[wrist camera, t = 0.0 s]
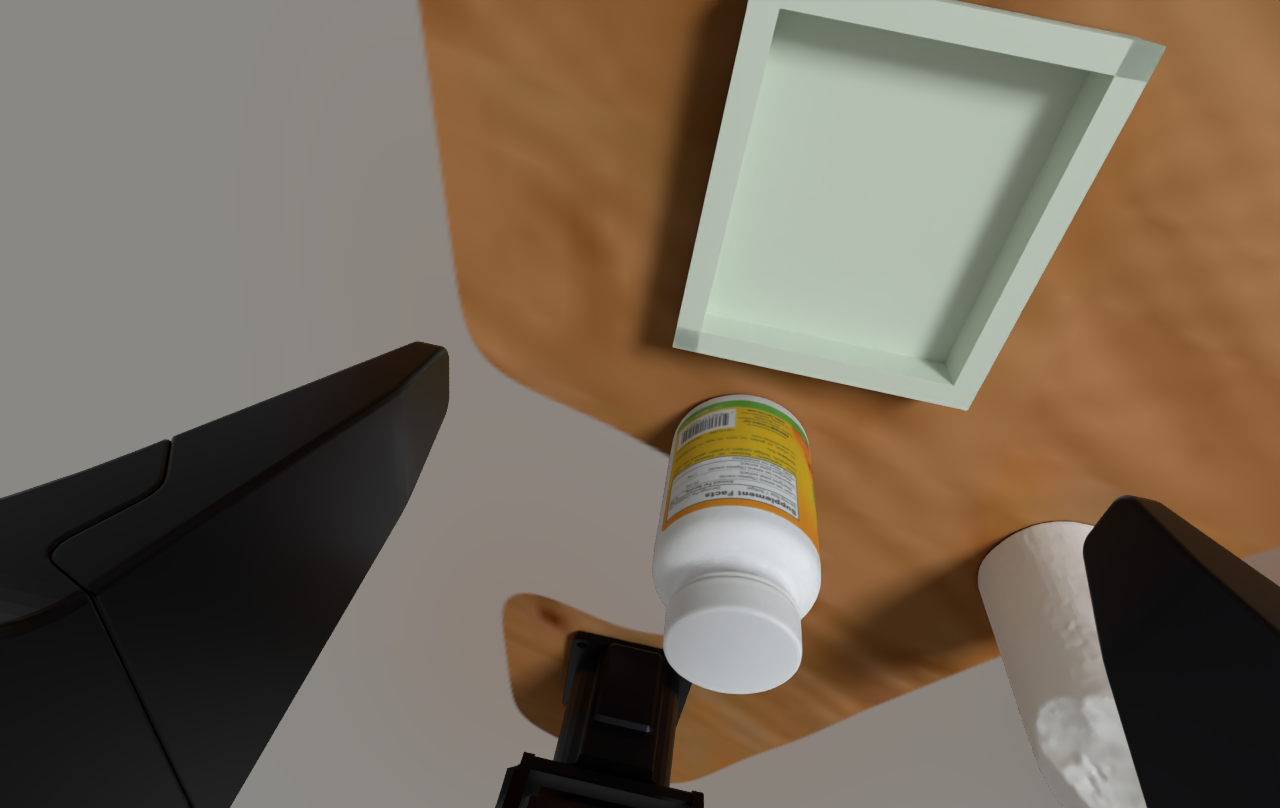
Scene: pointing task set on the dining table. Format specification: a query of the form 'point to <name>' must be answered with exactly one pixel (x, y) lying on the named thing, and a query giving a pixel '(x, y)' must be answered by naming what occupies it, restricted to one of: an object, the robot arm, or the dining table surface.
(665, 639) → the supplement bottle
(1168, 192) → the dining table surface
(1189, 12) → the dining table surface
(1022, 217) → the tray
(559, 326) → the dining table surface
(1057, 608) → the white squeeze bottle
